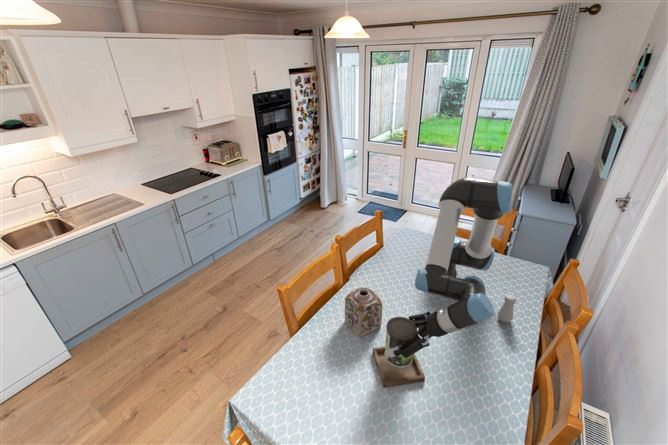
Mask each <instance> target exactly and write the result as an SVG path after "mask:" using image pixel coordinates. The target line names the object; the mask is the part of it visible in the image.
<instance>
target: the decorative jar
mask: <svg viewBox="0 0 668 445" xmlns="http://www.w3.org/2000/svg"><path fill="white" fill-rule="evenodd" d="M382 318H383V302H382V300H381V299H380V297H379V296H378V294H377V293H376V292H375V291H374V290H373V289H372V288H368V287H361V286H359V287H357V288H355V289H351V291H350V292H349V293H348V294H347V295H346V296H345V298H344V321H345V323H346V324H347V325H348V326H349V328H350V329H351V330H352V331H353V332H354V333H355V335H356V336H357V337H358V338H362V337H364V336H366V335H368V334H370V333H372V332H374V331H375V330H378V329H381V327H382V323H383V322H382V321H383V319H382Z"/></svg>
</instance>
